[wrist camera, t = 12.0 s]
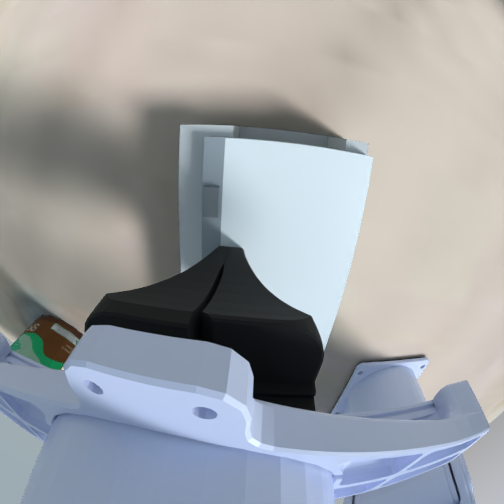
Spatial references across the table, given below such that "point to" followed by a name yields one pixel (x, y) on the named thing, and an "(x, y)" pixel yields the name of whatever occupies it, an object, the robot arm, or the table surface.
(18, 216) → the table surface
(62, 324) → the food container
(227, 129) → the grey slotted block
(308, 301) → the cover
